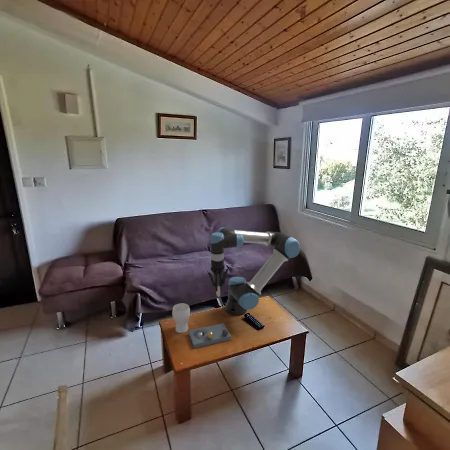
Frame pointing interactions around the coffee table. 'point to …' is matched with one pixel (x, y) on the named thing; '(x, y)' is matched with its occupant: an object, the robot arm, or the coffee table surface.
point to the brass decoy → (210, 335)
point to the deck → (203, 340)
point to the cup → (181, 317)
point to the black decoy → (224, 332)
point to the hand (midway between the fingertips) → (218, 295)
